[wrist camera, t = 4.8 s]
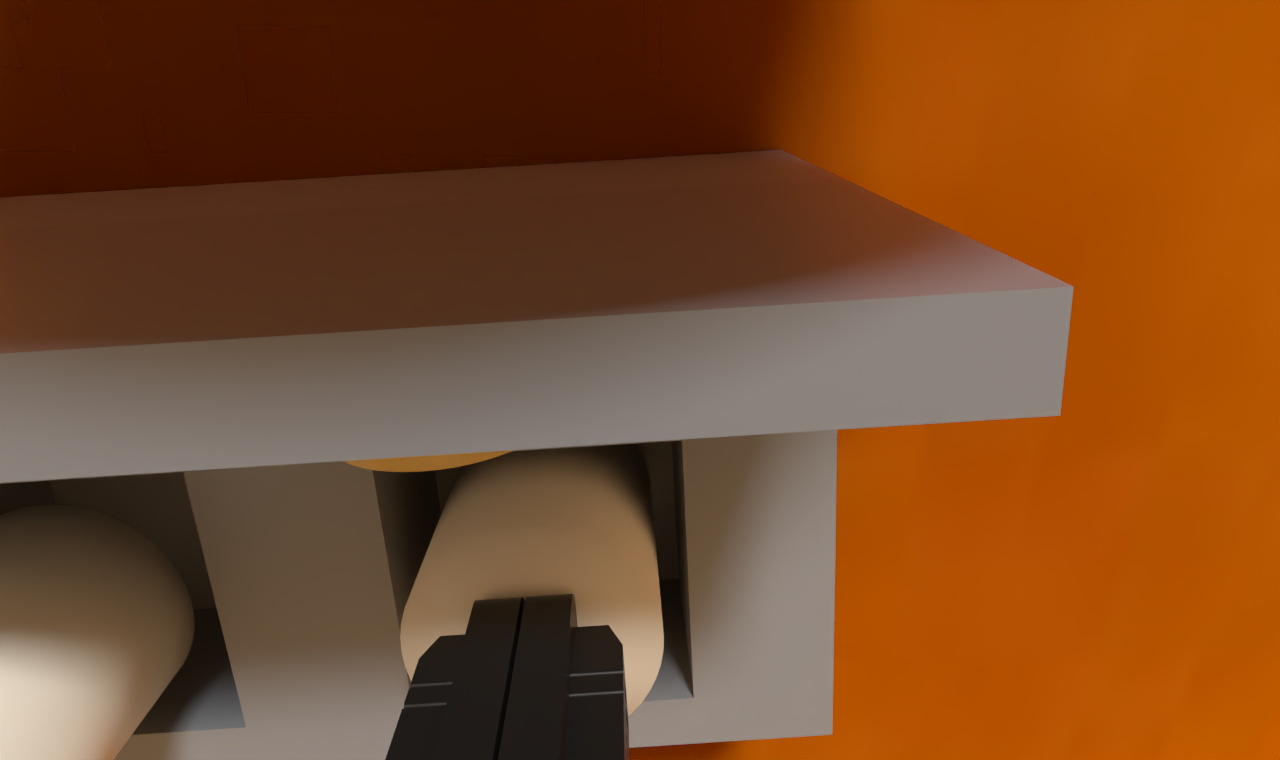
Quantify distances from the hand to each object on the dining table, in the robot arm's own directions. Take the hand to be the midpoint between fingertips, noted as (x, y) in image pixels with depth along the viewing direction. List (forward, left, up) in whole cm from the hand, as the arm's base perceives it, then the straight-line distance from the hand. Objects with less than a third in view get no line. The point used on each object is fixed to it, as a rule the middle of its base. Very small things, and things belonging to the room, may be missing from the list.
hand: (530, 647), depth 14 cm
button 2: (0, 0, -5) cm, 5 cm away
